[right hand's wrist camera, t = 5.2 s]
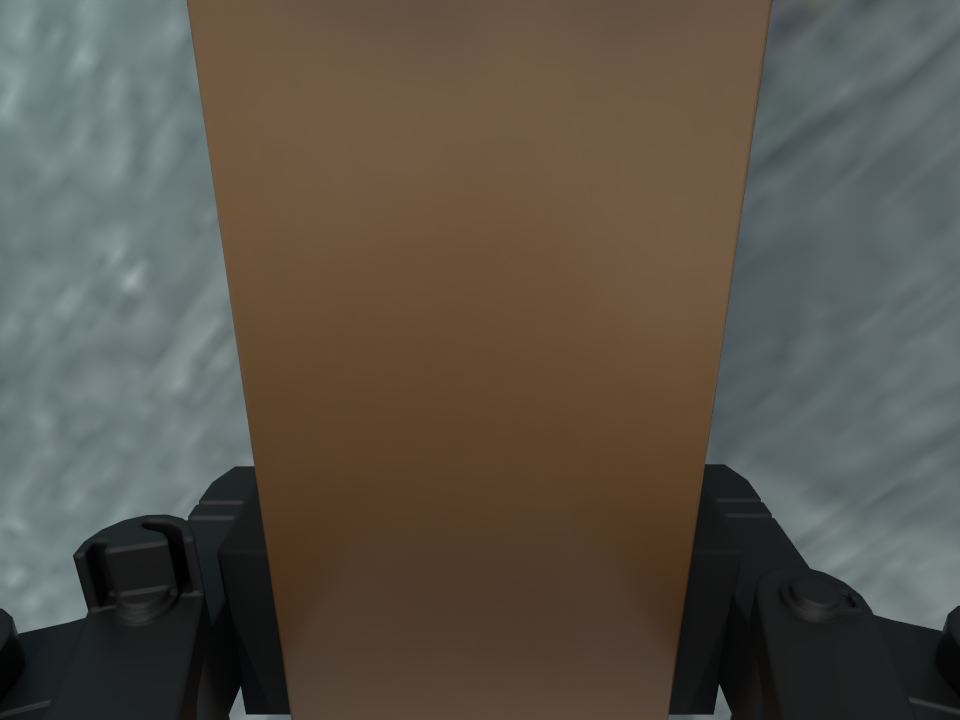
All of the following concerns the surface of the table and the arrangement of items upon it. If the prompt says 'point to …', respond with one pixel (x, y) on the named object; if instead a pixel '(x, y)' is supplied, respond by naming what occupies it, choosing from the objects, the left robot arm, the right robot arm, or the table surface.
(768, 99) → the table surface
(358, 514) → the post
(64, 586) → the table surface
